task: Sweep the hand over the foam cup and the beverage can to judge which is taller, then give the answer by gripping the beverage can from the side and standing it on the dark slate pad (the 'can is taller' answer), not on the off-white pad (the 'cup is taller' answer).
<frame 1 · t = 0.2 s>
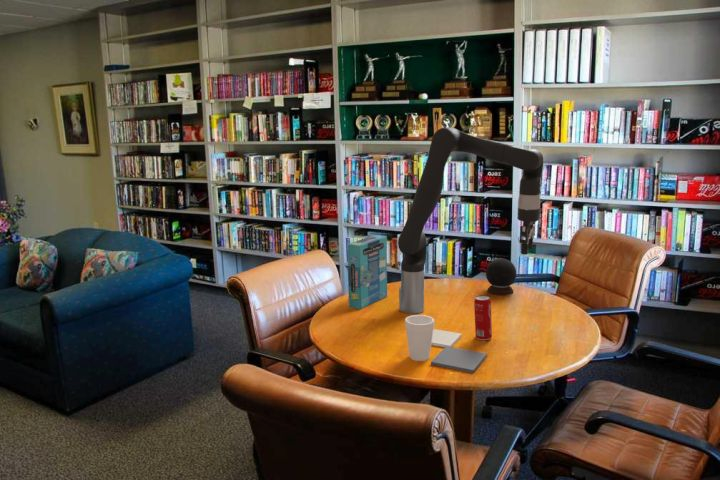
hand: (526, 251, 211), 29 cm above the table, tool pointing down, fingers open, 8 cm apart
ball on round base: (500, 291, 261), on the table
beverage can: (482, 338, 209), on the table
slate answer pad: (459, 360, 190), on the table
game box: (368, 302, 250), on the table
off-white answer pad: (439, 339, 208), on the table
foam cup: (419, 357, 193), on the table
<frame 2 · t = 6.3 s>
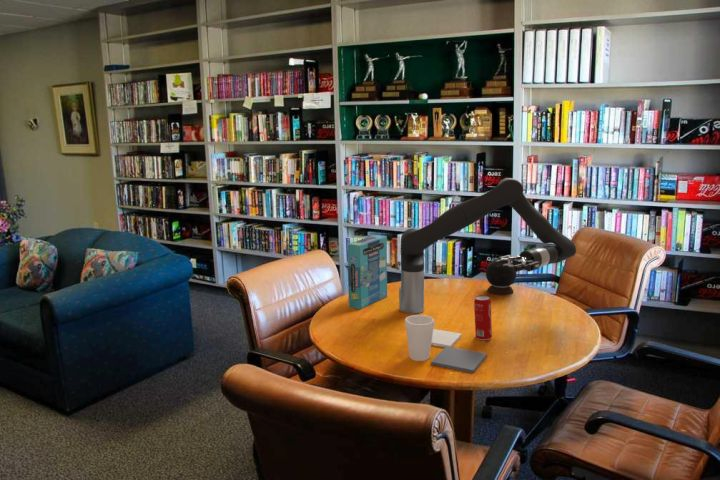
hand: (504, 266, 209), 24 cm above the table, tool horizontal, fingers open, 8 cm apart
nothing on the table moved.
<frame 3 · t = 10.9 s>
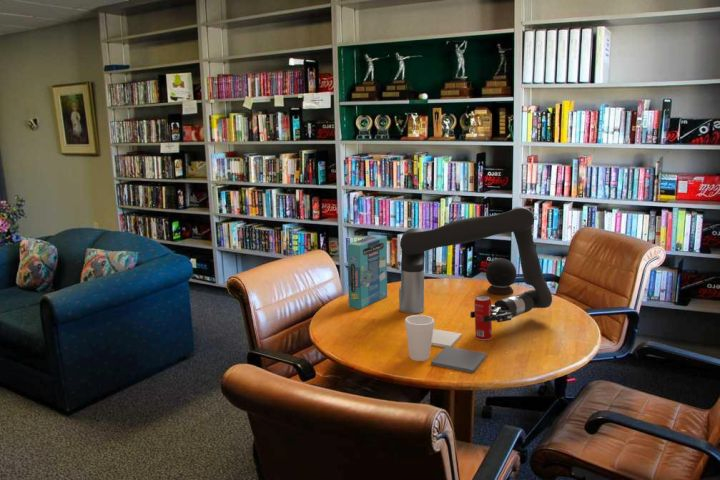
hand: (477, 317, 206), 8 cm above the table, tool horizontal, fingers closed on beverage can, 5 cm apart
beverage can: (482, 338, 209), on the table, touching gripper
everything else where it was.
when the fingers open (10 cm above the table, at t = 16.8 s): beverage can drops 1 cm, resting on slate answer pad.
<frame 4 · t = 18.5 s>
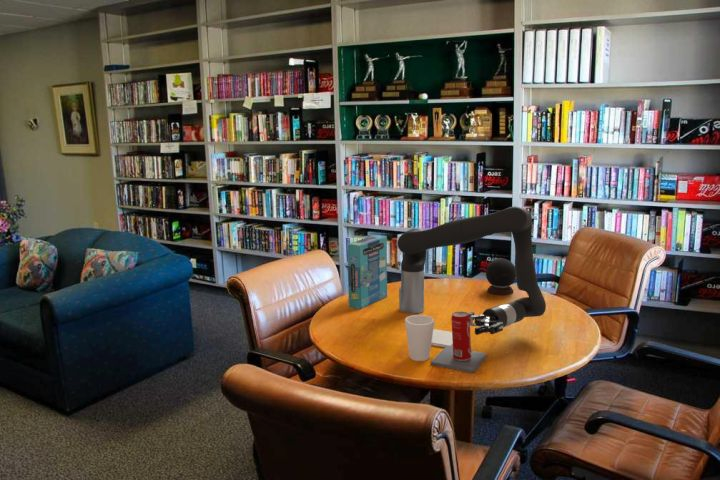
hand: (465, 327, 190), 10 cm above the table, tool horizontal, fingers open, 8 cm apart
beverage can: (461, 358, 190), point 1 cm above the table, touching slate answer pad
everything else where it was.
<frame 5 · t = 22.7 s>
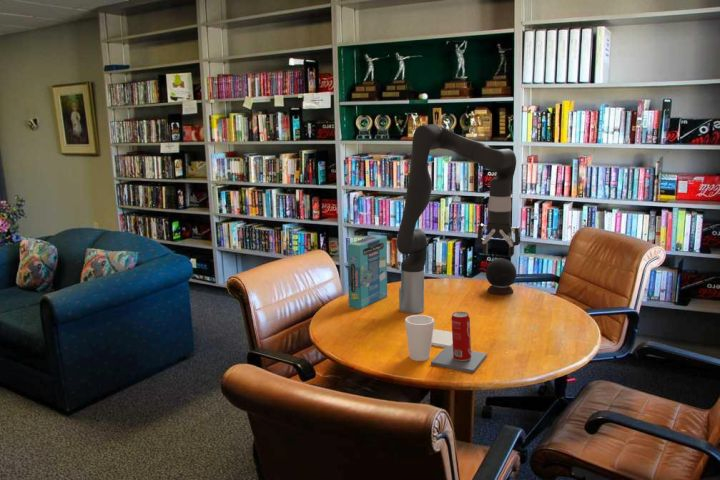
hand: (498, 255, 202), 30 cm above the table, tool pointing down, fingers open, 8 cm apart
nothing on the table moved.
at the end: beverage can inside the target area on the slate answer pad (0.6 cm from its centre), point 0.8 cm above the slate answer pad's base; beverage can tilted 0°; the gripper is holding nothing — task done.
